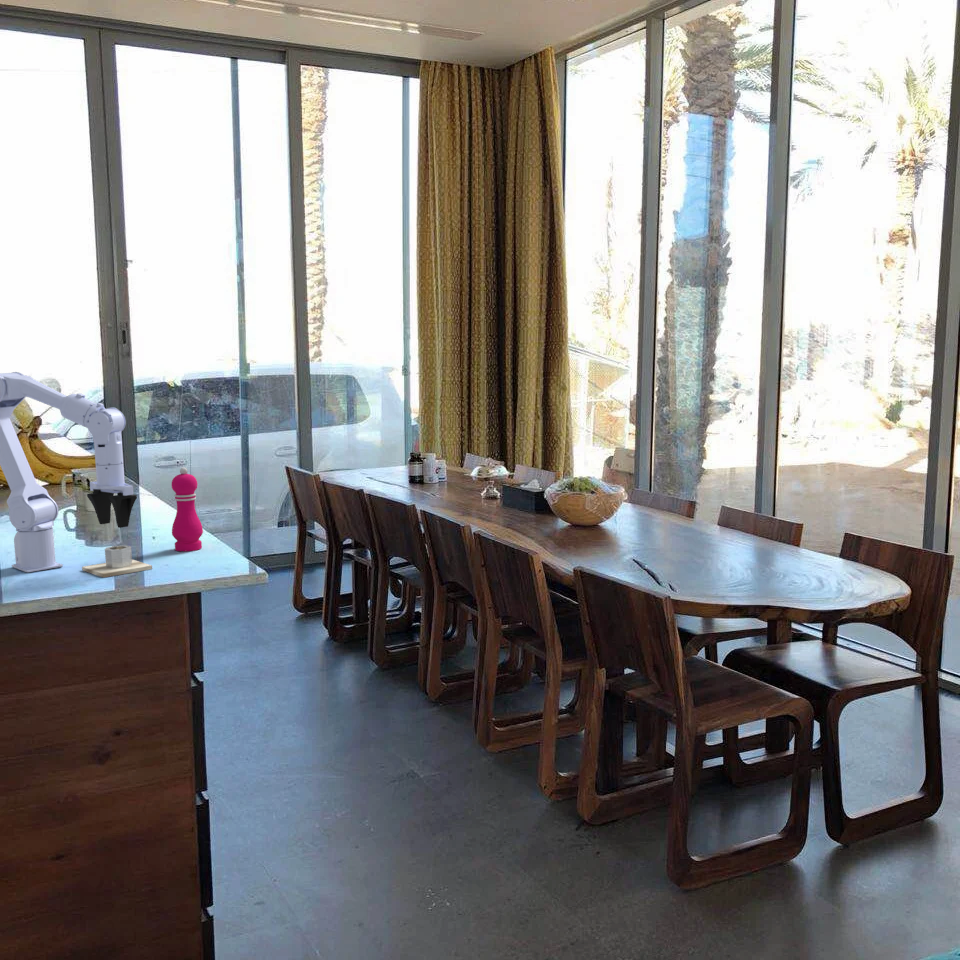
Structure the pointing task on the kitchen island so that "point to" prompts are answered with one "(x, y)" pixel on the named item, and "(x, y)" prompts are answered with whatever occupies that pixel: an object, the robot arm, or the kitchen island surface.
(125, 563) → the collar
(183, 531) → the pepper mill
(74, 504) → the kitchen island surface
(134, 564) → the post block
